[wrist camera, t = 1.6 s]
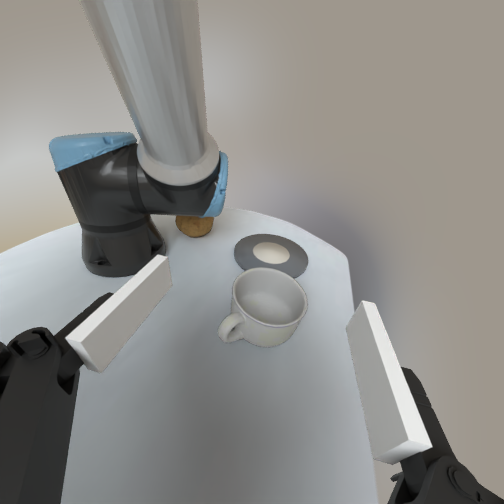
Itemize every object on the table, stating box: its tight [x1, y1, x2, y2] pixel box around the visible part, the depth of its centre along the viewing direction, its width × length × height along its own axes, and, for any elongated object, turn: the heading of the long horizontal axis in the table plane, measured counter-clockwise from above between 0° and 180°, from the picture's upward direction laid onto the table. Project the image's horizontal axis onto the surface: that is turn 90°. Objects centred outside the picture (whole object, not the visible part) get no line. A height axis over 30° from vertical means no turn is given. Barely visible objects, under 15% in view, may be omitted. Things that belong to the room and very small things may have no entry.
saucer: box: [234, 234, 308, 278], centre depth 49 cm, size 18×18×1 cm
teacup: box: [218, 267, 308, 347], centre depth 29 cm, size 14×11×8 cm
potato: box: [175, 216, 214, 237], centre depth 53 cm, size 10×14×8 cm
